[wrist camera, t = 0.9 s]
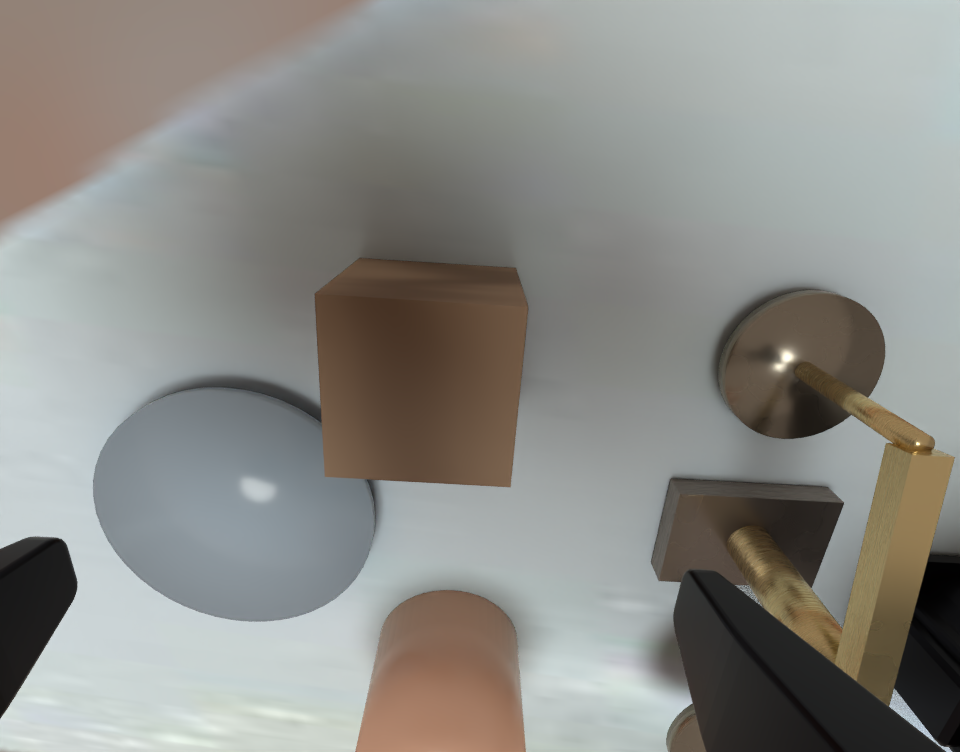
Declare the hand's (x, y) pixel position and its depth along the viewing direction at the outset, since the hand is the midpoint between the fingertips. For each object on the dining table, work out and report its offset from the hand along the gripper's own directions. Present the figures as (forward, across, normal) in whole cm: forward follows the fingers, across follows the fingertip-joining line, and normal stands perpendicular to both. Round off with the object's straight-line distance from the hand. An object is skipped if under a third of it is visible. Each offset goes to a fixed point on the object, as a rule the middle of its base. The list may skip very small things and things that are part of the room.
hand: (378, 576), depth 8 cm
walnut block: (+11, 0, 0) cm, 11 cm away
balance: (+11, -12, +7) cm, 18 cm away
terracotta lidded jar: (+11, -1, +14) cm, 18 cm away
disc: (+11, +7, +7) cm, 15 cm away
